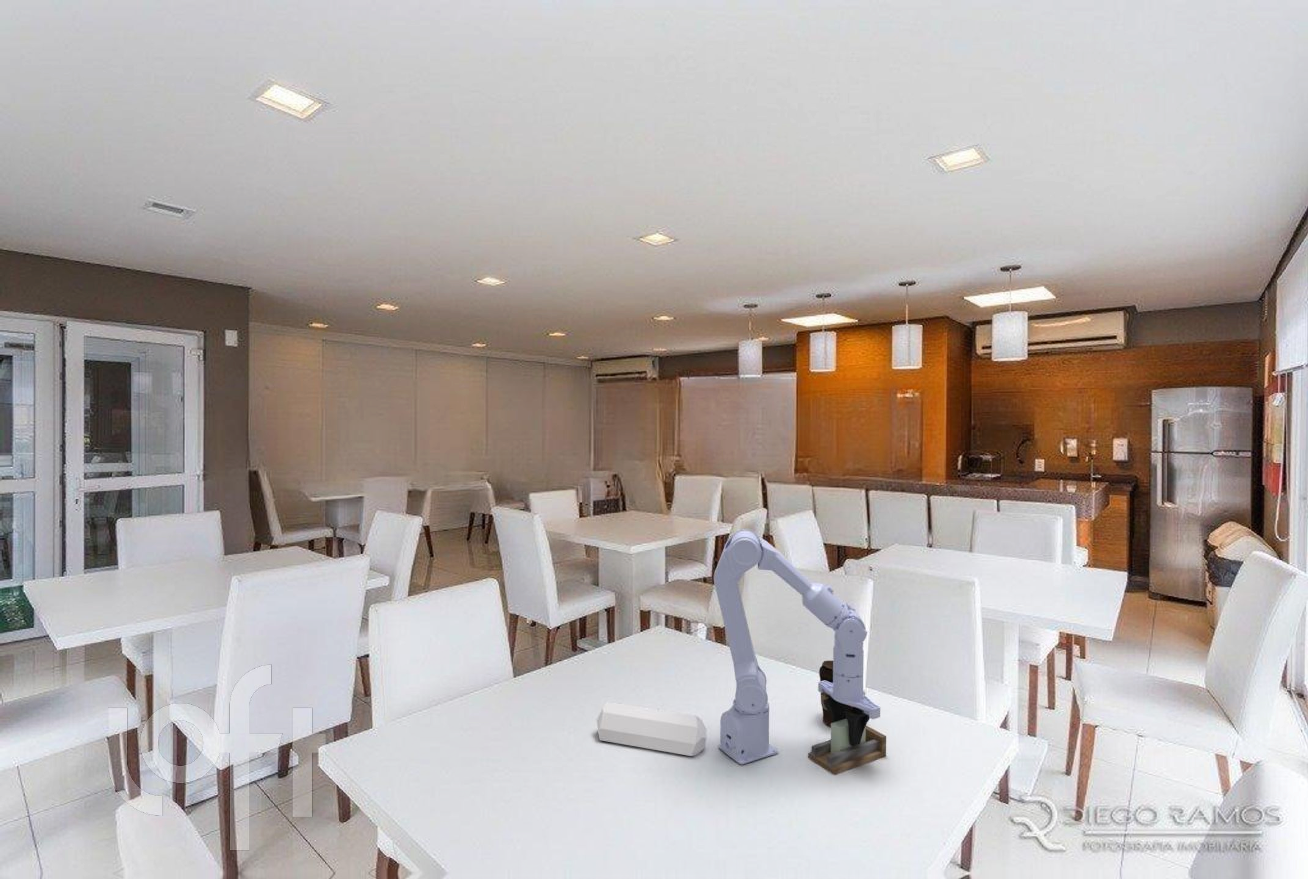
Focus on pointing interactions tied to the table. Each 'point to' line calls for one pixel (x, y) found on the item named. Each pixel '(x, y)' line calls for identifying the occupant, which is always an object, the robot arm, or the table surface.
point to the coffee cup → (827, 675)
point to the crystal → (652, 729)
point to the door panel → (842, 736)
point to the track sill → (849, 753)
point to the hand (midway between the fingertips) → (847, 739)
